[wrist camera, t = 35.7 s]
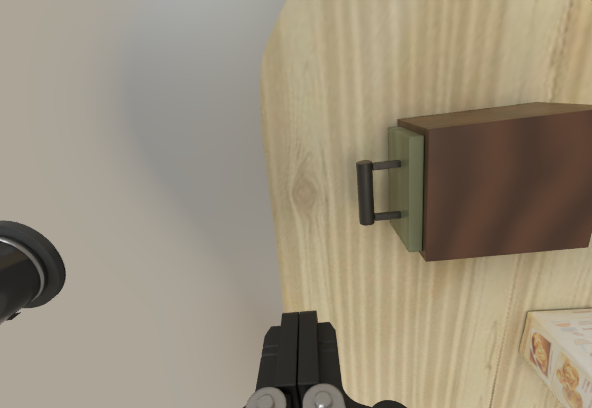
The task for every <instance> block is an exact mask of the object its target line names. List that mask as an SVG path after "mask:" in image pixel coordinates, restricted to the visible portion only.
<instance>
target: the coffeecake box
mask: <svg viewBox="0 0 592 408" xmlns="http://www.w3.org/2000/svg"><path fill="white" fill-rule="evenodd" d="M519 353H520V354H521V355H522V356H523V357H524V358H525V360H526V361H527V362H528V363H529V364H530V366H531V367H532V368H533V369H534V371H535V372H536V373H537V374H538V376H539V377H540V378H541V379H542V380H543V382H544V383H545V384H546V385H547V387H548V388H549V389H550V390H551V391H552V393H553V394H554V395H555V396H556V398H557V399H558V400H559V401H560V402H561V404H562V405H563V406H564V407H565V408H592V308H591V309H571V310H551V311H532V312H528V313H527V318H526V324H525V329H524V333H523V336H522V339H521V344H520V349H519Z"/></svg>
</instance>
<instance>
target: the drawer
mask: <svg viewBox="0 0 592 408" xmlns="http://www.w3.org/2000/svg"><path fill="white" fill-rule="evenodd" d="M388 156H389V161H383V162H374V163H372V161H369V160H364V161H358V162H357V163H356V168H357V185H358V202H359V219H360V224H362V225H372V224H374V220H375V221H379V220H389V219H390V223H391V225H392V226H393V228H394V229H395V231H396V233H397V234H398V236H399V237H400V239H401V240H402V242H403V244H404V245H405V247H406V248H407V250H408V251H409V252H415V251H422V225H423V221H424V168H425V138H424V135H421V134H418V133H416V132H413V131H411V130H408V129H405V128H403V127H400V126H398V127H390V128H388ZM381 169H389V202H390V212H382V213H374V198H373V173H372V170H381Z"/></svg>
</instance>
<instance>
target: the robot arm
mask: <svg viewBox="0 0 592 408" xmlns="http://www.w3.org/2000/svg"><path fill="white" fill-rule="evenodd" d="M47 284H48V273H47V269H46V267H45V265H44V263H43V261H42V260H41V258H40V257H39V256H38V254H37V253H36V252H35V251H34V250H33V249H31V248H30V247H29V246H28V245H26V244H25V243H23V242H21V241H19V240H17V239H15V238H12V237H9V236H4V235H0V324H1V323H3V322H4V321H7V320H12V319H13V318H14V317H16V316H17V315H18V314H20V313H16V312H17V311H19V310H20V309H21V308H23V307H25V306H26V305H27V304H29V303H30V302H32V301H33V300H35V299H36V298H37V297H38V296H40V295H41V294H42V293H43V292H44V291H45V289H46V287H47ZM243 408H406V407H405V406H404V405H402V404H401V403H399V402H396V401H392V400H384V401H380V402H378V403H377V404H375V405H374V406H373V407H369V406H365V405H362V404H359V403H357V402H355V401H353V400H352V399H351V398H349V397H348V395H347V394H346V393H345V391H344V389H343V387H342V381H341V373H340V364H339V356H338V348H337V339H336V331H335V329H334V328H333V326H332V325H331V323H330V322H324V323H318V318H317V311H304V312H300V314H299V312H292V313H283V314H282V321H281V326H273V327H271V328H270V329H269V331H268V332H267V334H266V335H265V338H264V344H263V350H262V357H261V362H260V368H259V374H258V379H257V385H256V390H255V393H254V394H253V395H252V396H251V397H250V399H249V400H248V402H247V404H246V406H245V407H243Z"/></svg>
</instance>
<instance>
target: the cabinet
mask: <svg viewBox="0 0 592 408" xmlns="http://www.w3.org/2000/svg"><path fill="white" fill-rule="evenodd" d="M398 126H400V127H403V128H405V129H408V130H411V131H413V132H416V133H418V134H421V135H424V138H425V168H424V221H423V225H422V251H419V253H420V254H421V255H422V257H423V258H424V260H425V261H426V262H428V261H439V260H451V259H462V258H473V257H484V256H496V255H507V254H518V253H529V252H540V251H552V250H563V249H574V248H585V247H588V246H589V242H590V237H591V233H592V105H584V104H564V103H544V102H534V103H526V104H518V105H510V106H502V107H494V108H486V109H477V110H469V111H461V112H453V113H445V114H437V115H429V116H421V117H412V118H404V119H398Z"/></svg>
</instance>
